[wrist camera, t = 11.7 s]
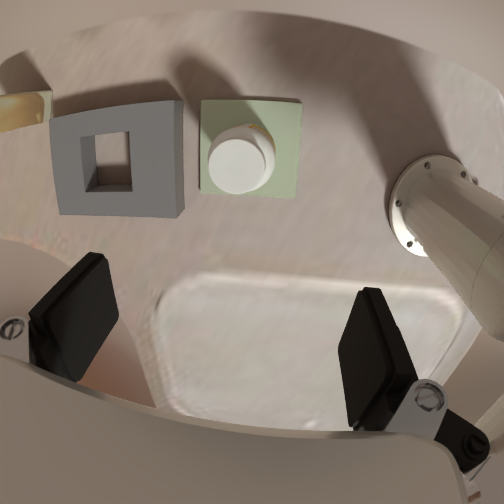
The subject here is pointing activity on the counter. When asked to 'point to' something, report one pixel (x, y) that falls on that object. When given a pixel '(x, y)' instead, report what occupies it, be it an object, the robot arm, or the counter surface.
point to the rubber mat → (270, 118)
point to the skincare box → (24, 109)
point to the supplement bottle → (241, 158)
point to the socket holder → (141, 156)
